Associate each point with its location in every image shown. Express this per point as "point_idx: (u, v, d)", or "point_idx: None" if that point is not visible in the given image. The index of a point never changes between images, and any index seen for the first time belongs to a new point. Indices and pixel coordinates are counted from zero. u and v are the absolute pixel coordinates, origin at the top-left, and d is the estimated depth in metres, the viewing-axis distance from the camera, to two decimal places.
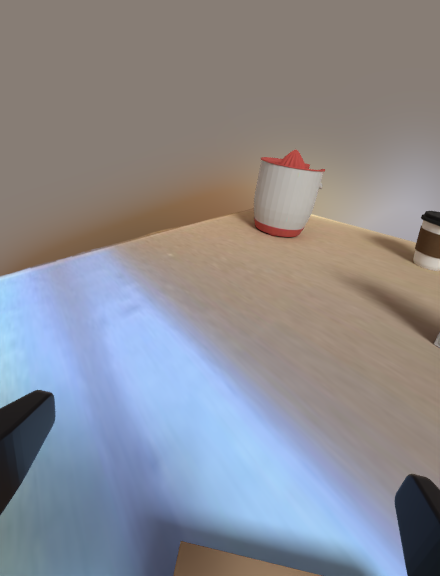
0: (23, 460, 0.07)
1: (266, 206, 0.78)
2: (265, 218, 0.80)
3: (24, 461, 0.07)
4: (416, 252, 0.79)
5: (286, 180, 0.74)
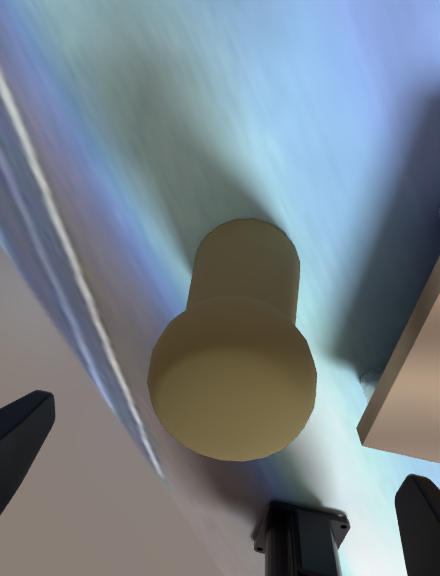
0: (23, 460, 0.07)
1: None
2: None
3: (24, 461, 0.07)
4: None
5: None
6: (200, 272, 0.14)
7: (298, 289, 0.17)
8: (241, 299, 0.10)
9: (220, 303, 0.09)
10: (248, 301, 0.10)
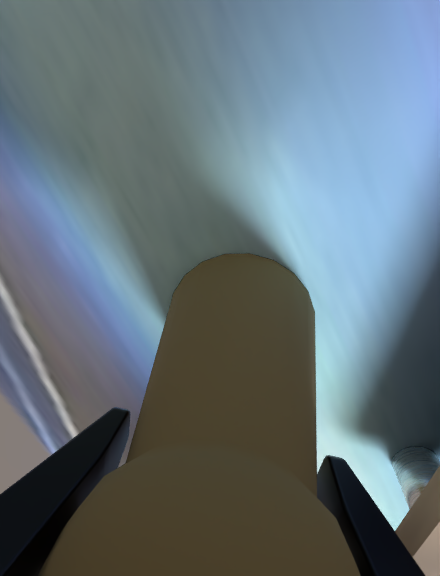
0: None
1: None
2: None
3: None
4: None
5: None
6: (165, 349, 0.09)
7: None
8: (218, 481, 0.05)
9: (171, 500, 0.04)
10: (233, 486, 0.05)
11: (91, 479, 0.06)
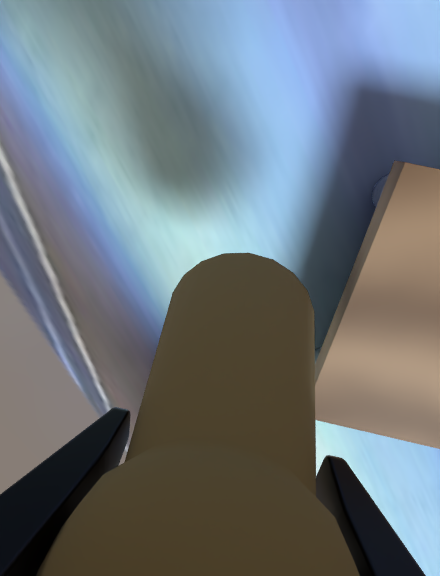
0: None
1: None
2: None
3: None
4: None
5: None
6: (165, 348, 0.09)
7: None
8: (217, 480, 0.05)
9: (170, 499, 0.04)
10: (231, 484, 0.05)
11: (91, 479, 0.06)
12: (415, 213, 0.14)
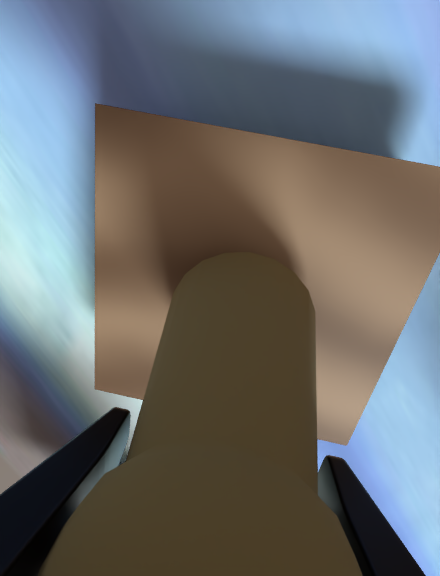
0: None
1: None
2: None
3: None
4: None
5: None
6: (166, 348, 0.09)
7: None
8: (219, 478, 0.05)
9: (173, 497, 0.04)
10: (233, 483, 0.05)
11: (91, 479, 0.06)
12: (123, 160, 0.13)
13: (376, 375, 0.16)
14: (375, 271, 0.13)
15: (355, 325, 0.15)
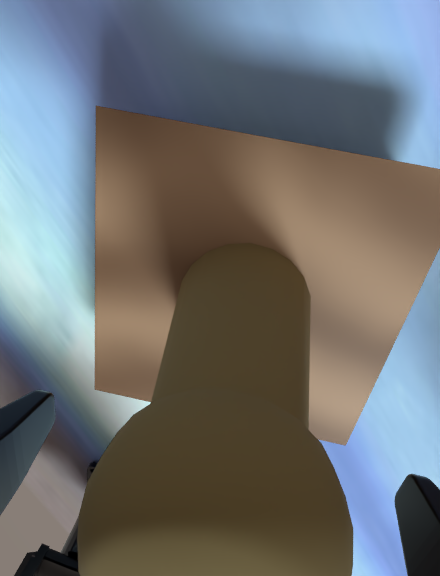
0: (23, 460, 0.07)
1: None
2: None
3: (24, 461, 0.07)
4: None
5: None
6: (178, 324, 0.10)
7: None
8: (227, 406, 0.06)
9: (191, 417, 0.06)
10: (238, 409, 0.06)
11: None
12: (124, 162, 0.13)
13: (374, 375, 0.16)
14: (373, 272, 0.14)
15: (353, 325, 0.15)
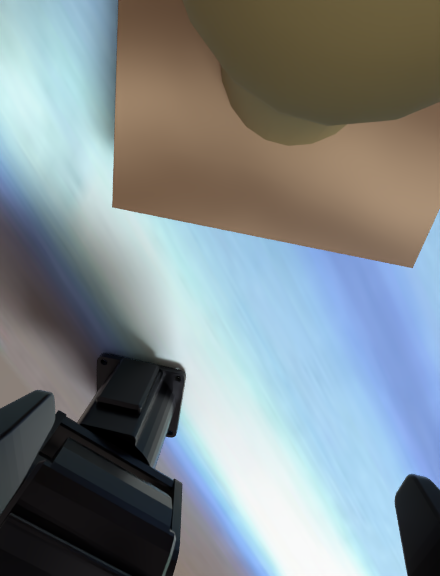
0: (23, 460, 0.07)
1: None
2: None
3: (24, 461, 0.07)
4: None
5: None
6: None
7: None
8: None
9: None
10: None
11: None
12: None
13: None
14: None
15: None
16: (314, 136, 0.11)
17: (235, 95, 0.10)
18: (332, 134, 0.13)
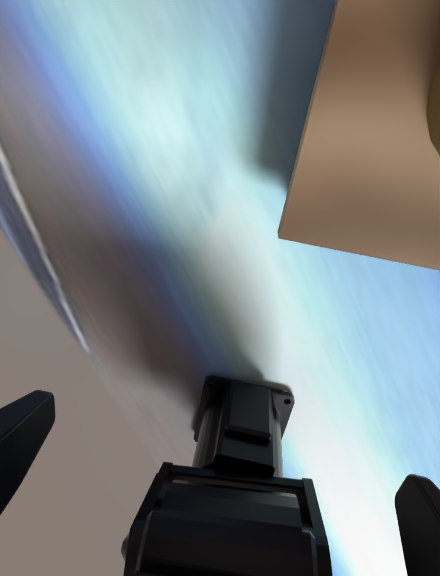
0: (23, 460, 0.07)
1: None
2: None
3: (24, 461, 0.07)
4: None
5: None
6: None
7: None
8: None
9: None
10: None
11: None
12: None
13: None
14: None
15: None
16: None
17: None
18: None
